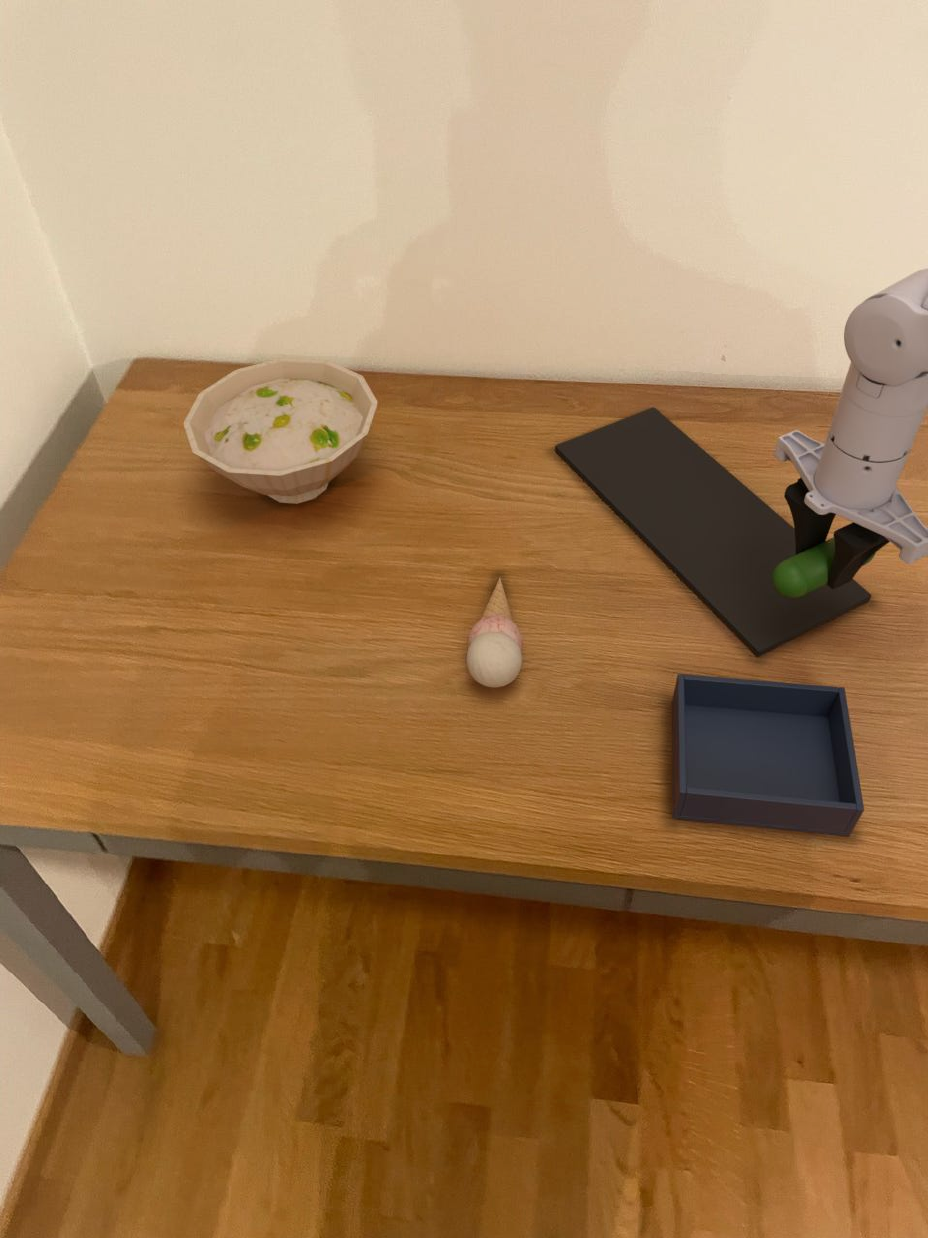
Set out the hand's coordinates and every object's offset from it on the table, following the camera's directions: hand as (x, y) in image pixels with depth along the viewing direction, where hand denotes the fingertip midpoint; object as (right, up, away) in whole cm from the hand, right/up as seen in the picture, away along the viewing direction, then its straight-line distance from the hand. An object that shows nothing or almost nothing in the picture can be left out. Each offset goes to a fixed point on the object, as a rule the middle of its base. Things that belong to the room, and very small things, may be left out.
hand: (822, 568), depth 77 cm
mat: (-7, +6, +15) cm, 17 cm away
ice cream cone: (-26, -6, +6) cm, 28 cm away
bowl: (-48, +10, +22) cm, 53 cm away
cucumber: (0, 0, -1) cm, 1 cm away
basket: (-7, -16, -4) cm, 18 cm away
